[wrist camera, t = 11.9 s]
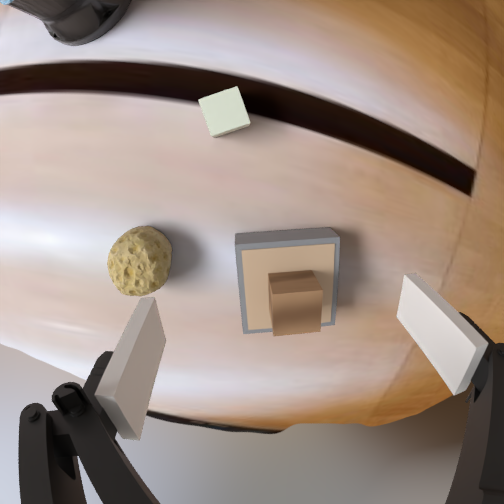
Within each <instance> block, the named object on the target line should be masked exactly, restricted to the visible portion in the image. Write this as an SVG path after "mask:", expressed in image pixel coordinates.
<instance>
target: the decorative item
mask: <svg viewBox="0 0 504 504" xmlns="http://www.w3.org/2000/svg"><path fill="white" fill-rule="evenodd" d="M171 252H172V246H171V244H170V242H169V240H168V239H167V238H166V237H165V236H164V235H163V234H162V233H161V232H159V231H158V230H156V229H154V228H153V227H151V226H144V227H143V226H141V227H136V228H132V229H130V230H129V231H127V232H125V233H124V234H123V235H122V236H121V237H120V238H119V239H118V240H117V241H116V242H115V244H114V245H113V246H112V248H111V250H110V253H109V256H108V262H107V265H108V270H109V275H110V277H111V279H112V281H113V283H114V285H115V286H116V287H117V289H118V290H119V291H120V292H121V293H122V294H125V295H130V296H134V295H136V296H143V295H147V294H149V293H152V292H154V291H156V290H157V289H160V288H161V286H163V285H164V283H165V282H166V280H167V278H168V275H169V270H170V265H171V258H172V254H171Z"/></svg>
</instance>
